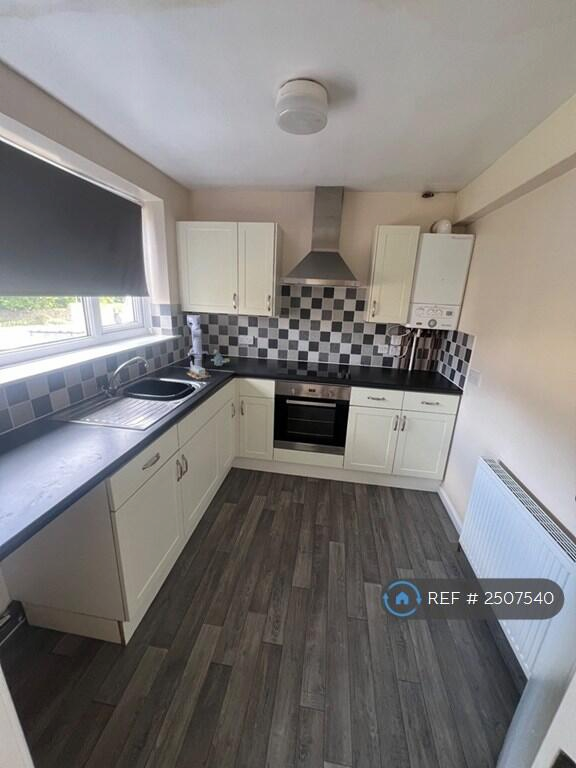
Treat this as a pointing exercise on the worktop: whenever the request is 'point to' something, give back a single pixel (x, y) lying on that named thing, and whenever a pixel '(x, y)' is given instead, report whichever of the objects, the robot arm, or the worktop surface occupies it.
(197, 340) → the robot arm
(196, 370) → the block
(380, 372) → the worktop surface
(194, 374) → the cradle jig
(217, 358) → the toy figure
